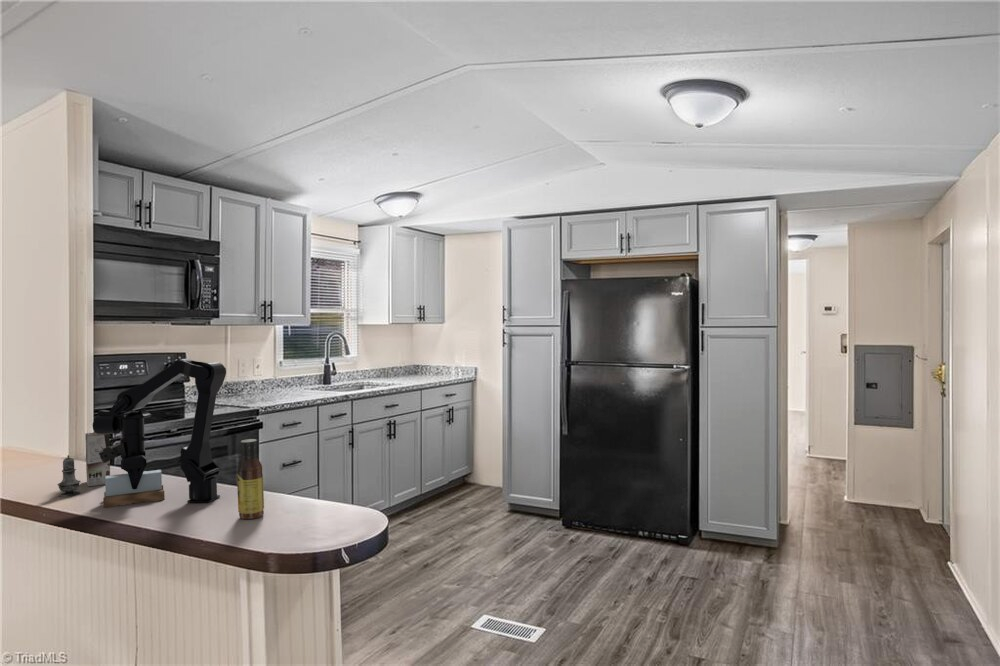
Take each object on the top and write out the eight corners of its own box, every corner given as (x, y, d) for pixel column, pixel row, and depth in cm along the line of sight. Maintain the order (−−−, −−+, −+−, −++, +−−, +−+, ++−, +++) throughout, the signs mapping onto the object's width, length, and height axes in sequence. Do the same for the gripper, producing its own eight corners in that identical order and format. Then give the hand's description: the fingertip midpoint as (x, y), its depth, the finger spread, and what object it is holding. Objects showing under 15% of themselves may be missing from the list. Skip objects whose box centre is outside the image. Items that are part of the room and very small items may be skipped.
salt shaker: (69, 497, 191) (68, 457, 191) (52, 496, 192) (51, 456, 192) (85, 492, 197) (84, 453, 197) (69, 491, 198) (68, 452, 198)
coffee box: (111, 483, 208) (109, 433, 208) (87, 487, 204) (85, 436, 204) (109, 478, 215) (107, 430, 215) (86, 481, 212) (85, 432, 212)
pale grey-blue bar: (161, 486, 191) (160, 469, 191) (161, 489, 188) (161, 472, 188) (106, 493, 185) (105, 476, 184) (105, 496, 181) (105, 478, 181)
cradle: (163, 492, 194) (163, 484, 194) (164, 499, 186) (164, 490, 186) (104, 500, 187) (104, 491, 186) (103, 507, 179) (103, 498, 179)
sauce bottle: (244, 513, 170) (242, 438, 170) (268, 513, 170) (266, 437, 169) (233, 520, 163) (231, 442, 163) (258, 520, 163) (256, 441, 163)
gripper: (101, 432, 190) (102, 485, 190) (98, 441, 174) (100, 498, 174) (144, 428, 196) (146, 480, 196) (145, 436, 180) (147, 492, 180)
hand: (134, 487), depth 186 cm, fingers closed on pale grey-blue bar, 4 cm apart
